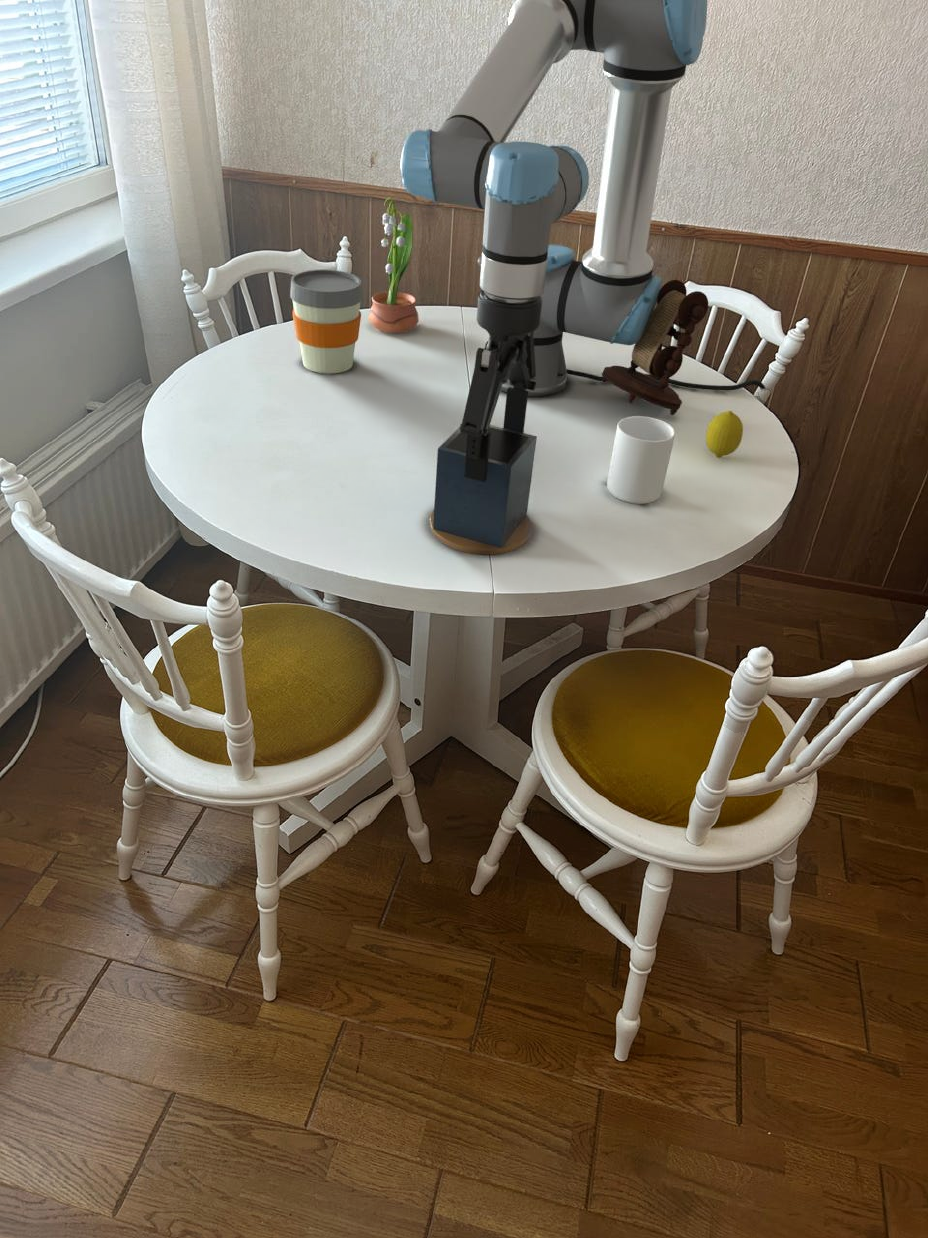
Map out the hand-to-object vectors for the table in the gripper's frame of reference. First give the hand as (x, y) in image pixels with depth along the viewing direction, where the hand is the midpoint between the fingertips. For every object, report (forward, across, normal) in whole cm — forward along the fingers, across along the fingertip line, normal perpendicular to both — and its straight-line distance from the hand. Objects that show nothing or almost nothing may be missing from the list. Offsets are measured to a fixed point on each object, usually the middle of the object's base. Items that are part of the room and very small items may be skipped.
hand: (494, 456), depth 120 cm
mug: (+11, -22, +14) cm, 28 cm away
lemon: (+12, -38, +25) cm, 47 cm away
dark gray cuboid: (+4, 0, -6) cm, 7 cm away
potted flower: (+12, -61, -45) cm, 76 cm away
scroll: (+10, -50, +8) cm, 51 cm away
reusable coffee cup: (+12, -38, -47) cm, 61 cm away
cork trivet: (+11, 0, -1) cm, 11 cm away
